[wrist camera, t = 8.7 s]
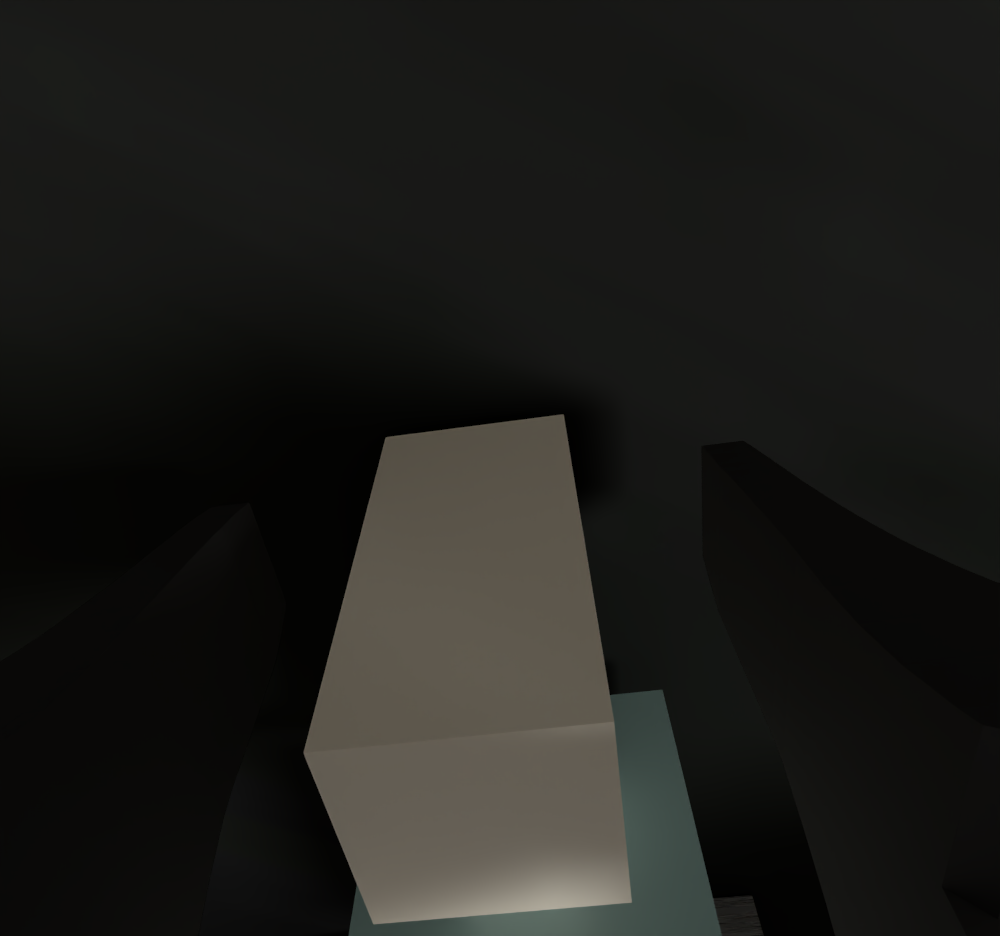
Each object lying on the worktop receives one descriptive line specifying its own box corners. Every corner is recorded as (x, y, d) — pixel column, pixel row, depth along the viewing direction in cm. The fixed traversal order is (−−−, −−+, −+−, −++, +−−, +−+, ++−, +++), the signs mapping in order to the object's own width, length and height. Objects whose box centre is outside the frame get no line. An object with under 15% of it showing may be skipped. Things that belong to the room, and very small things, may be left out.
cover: (642, 403, 13) (754, 706, 7) (668, 881, 19) (735, 1224, 14) (310, 446, 13) (173, 765, 8) (449, 899, 20) (431, 1241, 14)
